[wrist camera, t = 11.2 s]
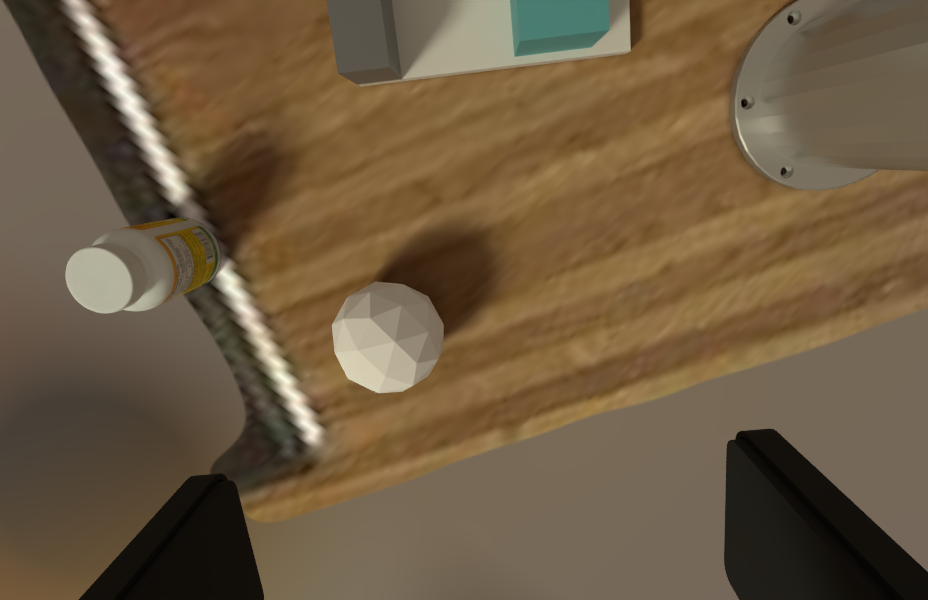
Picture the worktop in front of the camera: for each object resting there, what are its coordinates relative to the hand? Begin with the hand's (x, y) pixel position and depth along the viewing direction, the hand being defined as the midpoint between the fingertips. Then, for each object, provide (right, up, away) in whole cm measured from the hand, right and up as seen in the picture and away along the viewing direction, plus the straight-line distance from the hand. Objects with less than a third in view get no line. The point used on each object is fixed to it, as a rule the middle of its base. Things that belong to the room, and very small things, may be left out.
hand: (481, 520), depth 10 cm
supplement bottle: (-21, +8, +30) cm, 38 cm away
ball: (-6, +3, +31) cm, 32 cm away
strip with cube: (+1, +23, +25) cm, 34 cm away
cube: (+5, +23, +24) cm, 33 cm away
